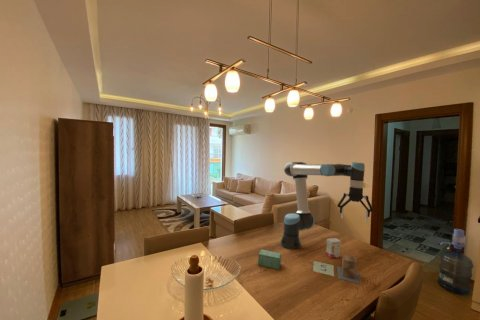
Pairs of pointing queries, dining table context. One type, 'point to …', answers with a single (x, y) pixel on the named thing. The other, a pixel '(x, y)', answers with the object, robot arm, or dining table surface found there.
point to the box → (269, 259)
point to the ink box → (333, 247)
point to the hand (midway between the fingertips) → (353, 220)
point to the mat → (357, 280)
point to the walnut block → (349, 266)
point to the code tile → (323, 268)
